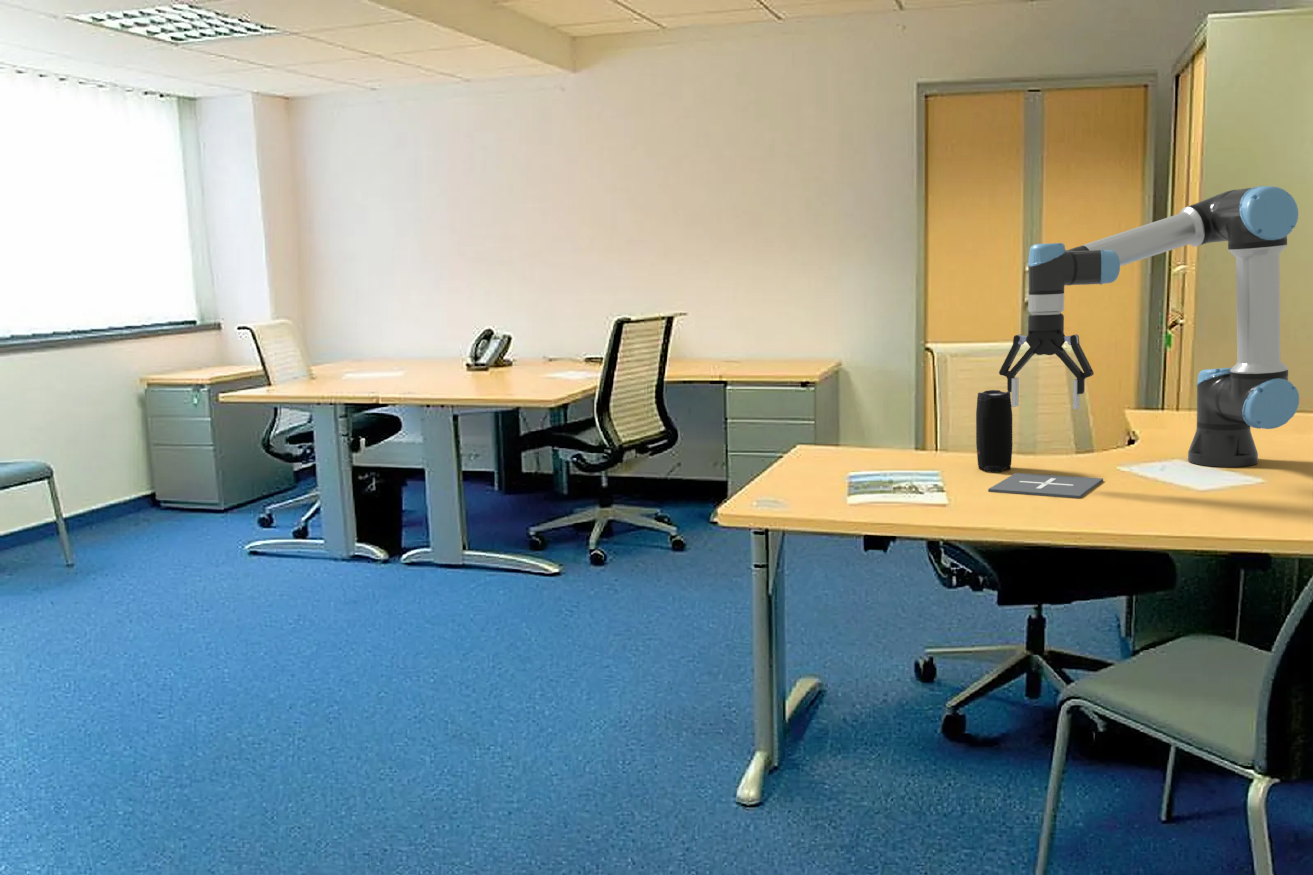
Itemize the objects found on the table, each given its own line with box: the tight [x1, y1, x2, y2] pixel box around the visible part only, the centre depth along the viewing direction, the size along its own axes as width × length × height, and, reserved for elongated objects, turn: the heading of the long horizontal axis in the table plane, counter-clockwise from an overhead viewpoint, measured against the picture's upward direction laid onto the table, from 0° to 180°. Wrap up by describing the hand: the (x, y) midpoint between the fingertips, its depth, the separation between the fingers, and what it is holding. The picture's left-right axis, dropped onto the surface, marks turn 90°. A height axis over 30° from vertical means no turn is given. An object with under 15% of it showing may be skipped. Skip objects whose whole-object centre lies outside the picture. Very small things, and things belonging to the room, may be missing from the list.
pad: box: [987, 472, 1104, 499], centre depth 249 cm, size 20×20×1 cm
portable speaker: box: [975, 389, 1013, 473], centre depth 270 cm, size 9×9×20 cm
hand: (1045, 407), depth 246 cm, fingers open, 13 cm apart
